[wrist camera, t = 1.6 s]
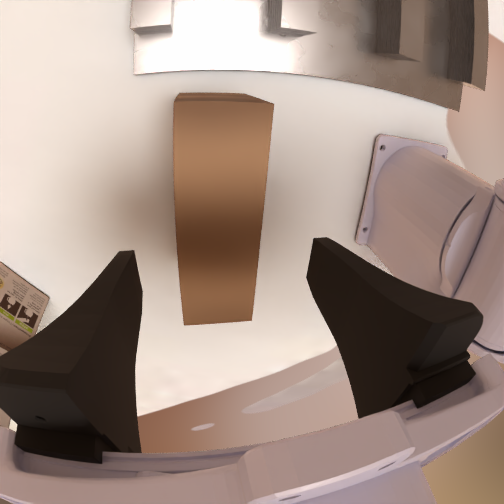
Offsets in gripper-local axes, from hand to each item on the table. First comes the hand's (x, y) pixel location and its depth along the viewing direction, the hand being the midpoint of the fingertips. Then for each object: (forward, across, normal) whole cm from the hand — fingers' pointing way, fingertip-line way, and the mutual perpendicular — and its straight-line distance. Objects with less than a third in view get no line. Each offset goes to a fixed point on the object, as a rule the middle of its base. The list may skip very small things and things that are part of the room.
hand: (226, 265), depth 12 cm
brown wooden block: (+10, 0, 0) cm, 10 cm away
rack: (+9, -8, -17) cm, 21 cm away
